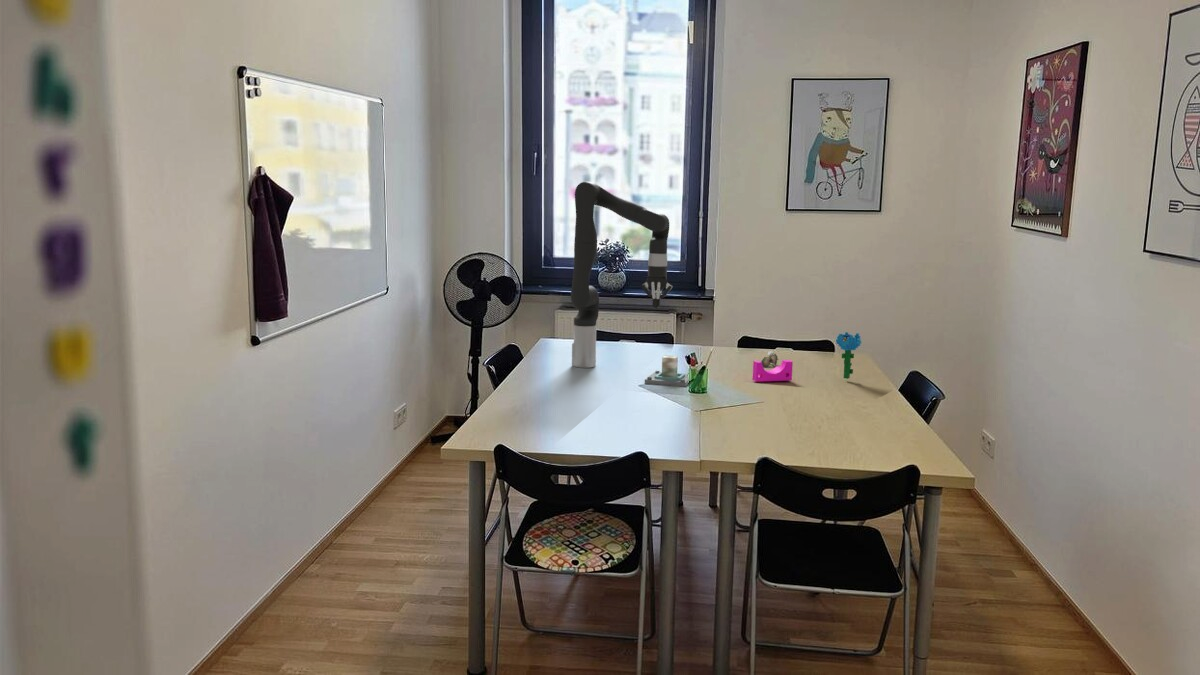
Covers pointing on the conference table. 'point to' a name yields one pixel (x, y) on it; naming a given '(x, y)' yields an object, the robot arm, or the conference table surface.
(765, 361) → the eagle figurine
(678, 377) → the baseplate
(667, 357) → the beige block
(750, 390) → the conference table surface
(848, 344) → the toy flower
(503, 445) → the conference table surface
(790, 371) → the toy block
